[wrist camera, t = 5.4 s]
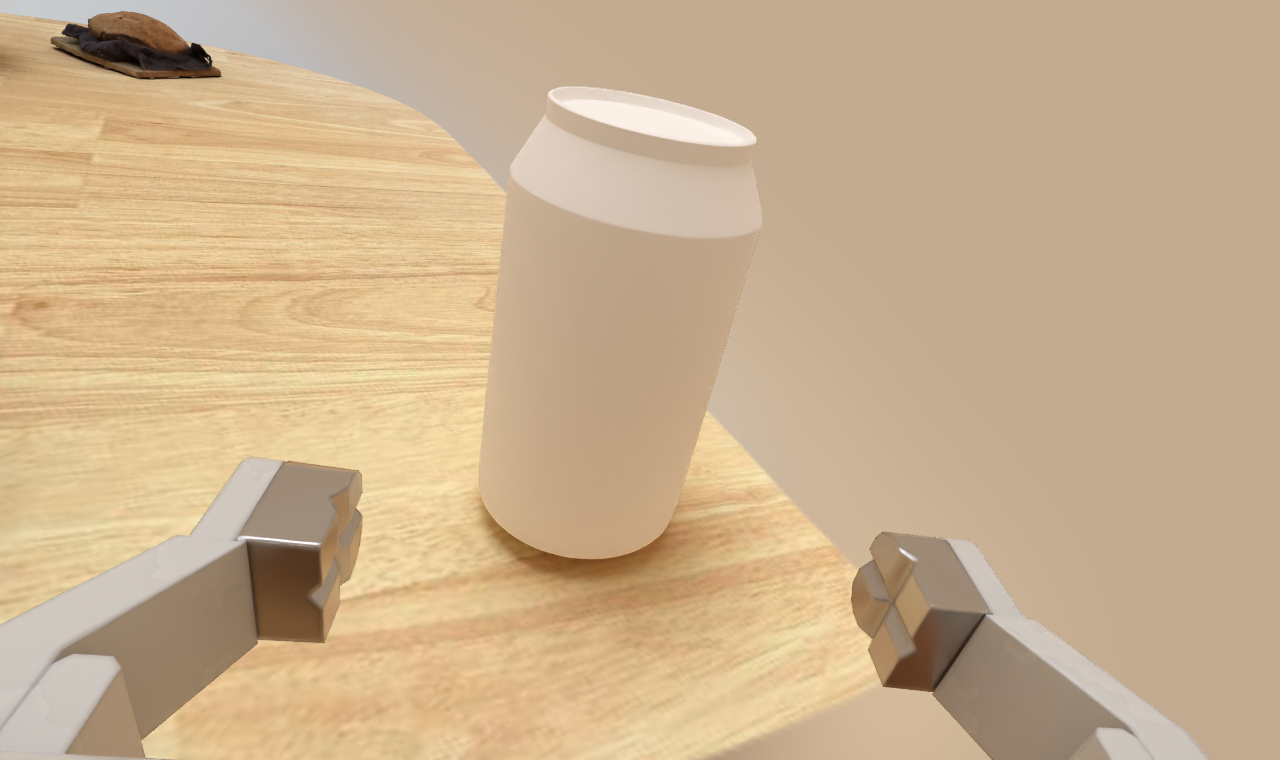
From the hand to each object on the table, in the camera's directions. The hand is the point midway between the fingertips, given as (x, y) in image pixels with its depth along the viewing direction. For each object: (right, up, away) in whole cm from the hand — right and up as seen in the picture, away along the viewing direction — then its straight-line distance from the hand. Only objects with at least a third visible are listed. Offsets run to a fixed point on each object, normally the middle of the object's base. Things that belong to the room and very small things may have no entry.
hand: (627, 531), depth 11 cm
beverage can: (-2, -2, +11) cm, 11 cm away
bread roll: (-42, +29, +47) cm, 69 cm away
